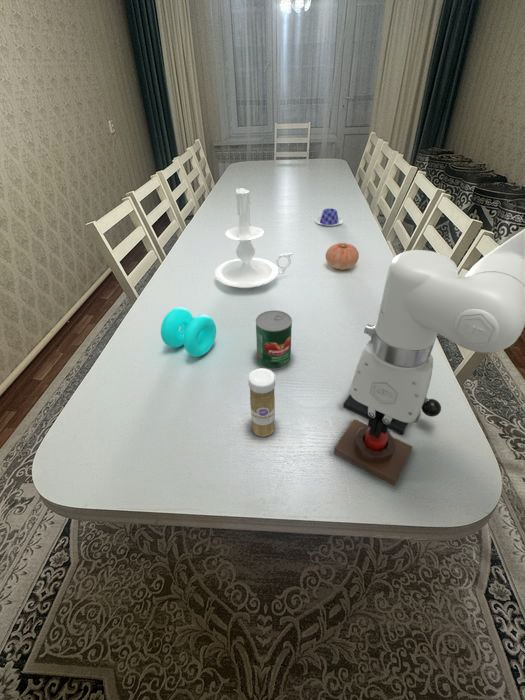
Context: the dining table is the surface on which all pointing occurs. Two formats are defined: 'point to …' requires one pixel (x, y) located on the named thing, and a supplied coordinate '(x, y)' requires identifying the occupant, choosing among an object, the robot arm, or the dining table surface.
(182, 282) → the dining table surface
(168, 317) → the turquoise yoyo
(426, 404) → the lever
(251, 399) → the sprinkles bottle
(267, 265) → the candlestick
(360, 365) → the robot arm
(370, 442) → the button
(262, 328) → the canned tomato
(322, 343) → the dining table surface
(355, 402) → the bracket
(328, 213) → the pudding
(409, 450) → the button block
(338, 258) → the orange round vegetable
